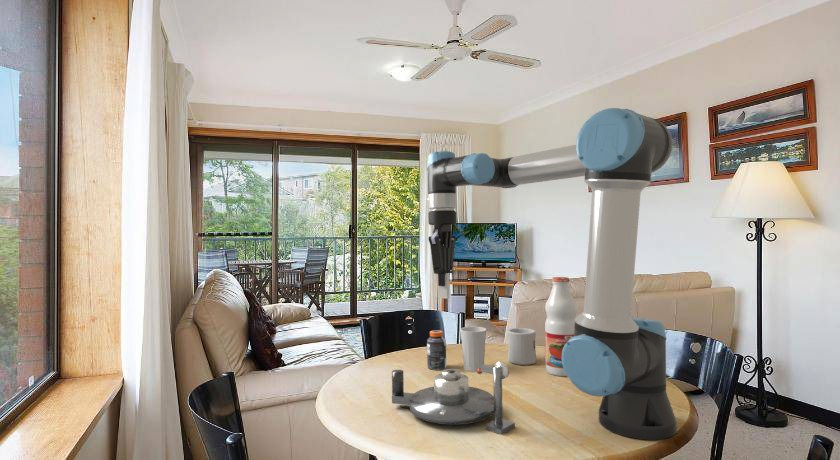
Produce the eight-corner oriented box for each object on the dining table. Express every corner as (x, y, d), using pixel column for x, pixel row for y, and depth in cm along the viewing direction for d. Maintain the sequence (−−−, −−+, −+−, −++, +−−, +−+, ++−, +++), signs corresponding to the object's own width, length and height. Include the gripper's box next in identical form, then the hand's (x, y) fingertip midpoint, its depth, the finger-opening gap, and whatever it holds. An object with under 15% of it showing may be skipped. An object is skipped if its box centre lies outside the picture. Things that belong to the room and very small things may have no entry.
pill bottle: (449, 366, 147) (449, 330, 147) (440, 371, 142) (439, 333, 142) (433, 363, 150) (432, 328, 150) (423, 368, 145) (423, 331, 145)
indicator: (514, 427, 101) (513, 363, 101) (501, 434, 98) (500, 368, 98) (485, 417, 107) (484, 356, 107) (471, 424, 103) (470, 361, 103)
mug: (539, 365, 147) (539, 333, 147) (510, 366, 147) (509, 333, 147) (530, 355, 159) (530, 325, 159) (503, 355, 159) (503, 325, 159)
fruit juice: (572, 367, 144) (570, 275, 144) (583, 376, 135) (582, 278, 135) (541, 368, 144) (540, 276, 144) (551, 377, 135) (549, 279, 135)
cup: (486, 372, 140) (485, 332, 140) (459, 371, 142) (458, 331, 142) (487, 365, 148) (487, 326, 148) (462, 364, 150) (461, 326, 150)
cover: (472, 395, 113) (471, 367, 113) (464, 407, 105) (463, 377, 105) (439, 392, 115) (439, 365, 115) (429, 403, 108) (429, 374, 108)
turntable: (501, 396, 117) (500, 366, 117) (488, 428, 98) (487, 393, 98) (406, 387, 124) (405, 360, 124) (376, 416, 105) (376, 383, 105)
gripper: (439, 211, 134) (441, 294, 134) (418, 209, 122) (420, 300, 122) (464, 210, 131) (465, 295, 131) (445, 208, 119) (446, 302, 119)
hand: (443, 297), depth 127 cm, fingers closed
